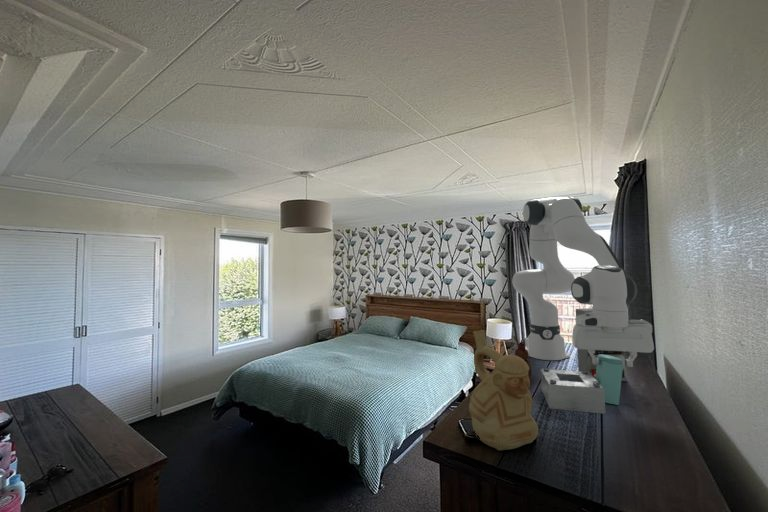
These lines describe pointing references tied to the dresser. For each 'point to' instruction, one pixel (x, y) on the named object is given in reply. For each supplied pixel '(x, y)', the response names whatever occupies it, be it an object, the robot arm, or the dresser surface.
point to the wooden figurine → (523, 355)
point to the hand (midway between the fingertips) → (612, 365)
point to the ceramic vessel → (502, 399)
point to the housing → (572, 391)
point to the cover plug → (610, 377)
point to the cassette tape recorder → (596, 354)
